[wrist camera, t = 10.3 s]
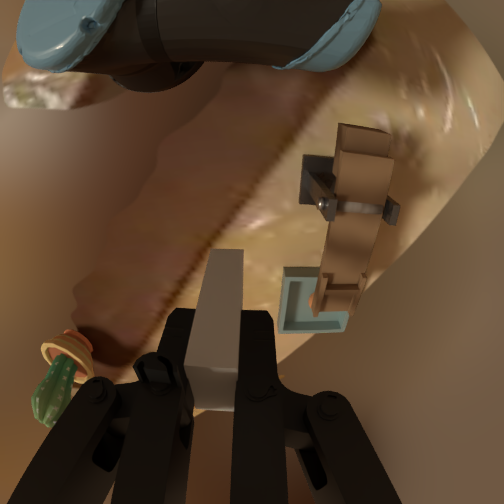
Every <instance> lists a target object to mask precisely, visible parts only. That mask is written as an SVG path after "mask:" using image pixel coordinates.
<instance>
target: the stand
mask: <svg viewBox="0 0 504 504" xmlns="http://www.w3.org/2000/svg"><path fill="white" fill-rule="evenodd" d="M333 164H334V157H325V156H314V155H303V159H302V171H301V183H300V194H299V204H309V205H316V207H317V210H320V212H321V213H322V215H323V217H324V218H325V220H326V221H333V222H334V221H335V214H336V208H337V201H338V199H337V198H336V197H335V196H334V190H335V184H336V176H335V175H334V174H333V173H332V171H333ZM399 210H400V205H399V204H398V203H397V202H395V201H394V200H393V199H392V198H390V197H389V196H388V195H387V198H386V202H385V206H384V210H383V214H382V218H383V219H384V220H385V221H386V222H387V223H388V224H389V225H395V226H396V222H397V218H398V214H399Z"/></svg>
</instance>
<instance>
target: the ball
mask: <svg viewBox="0 0 504 504" xmlns="http://www.w3.org/2000/svg"><path fill="white" fill-rule="evenodd" d="M313 296H314V293H312V294H311V295H310V297H309V300H308V303H309V306H310V308H311V305H312V301H313Z"/></svg>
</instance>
